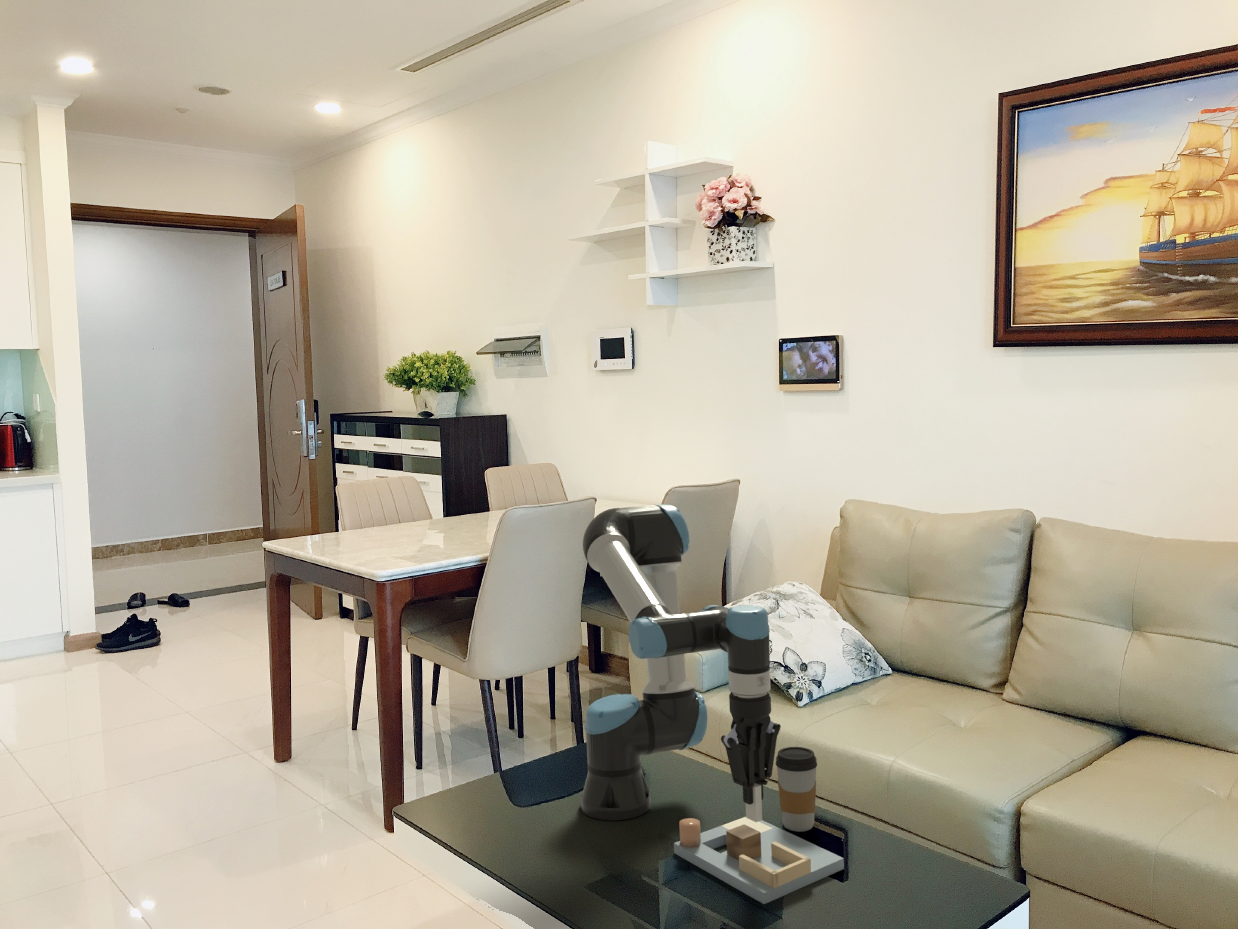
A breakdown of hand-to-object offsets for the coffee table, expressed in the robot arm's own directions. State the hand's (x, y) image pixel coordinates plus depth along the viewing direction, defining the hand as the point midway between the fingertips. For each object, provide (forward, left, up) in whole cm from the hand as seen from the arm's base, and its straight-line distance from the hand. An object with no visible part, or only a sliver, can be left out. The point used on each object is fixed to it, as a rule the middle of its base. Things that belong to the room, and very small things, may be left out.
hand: (754, 818), depth 176 cm
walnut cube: (-3, 0, -8) cm, 9 cm away
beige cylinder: (-14, -4, -8) cm, 17 cm away
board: (-3, +3, -10) cm, 11 cm away
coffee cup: (-9, +20, -10) cm, 25 cm away
